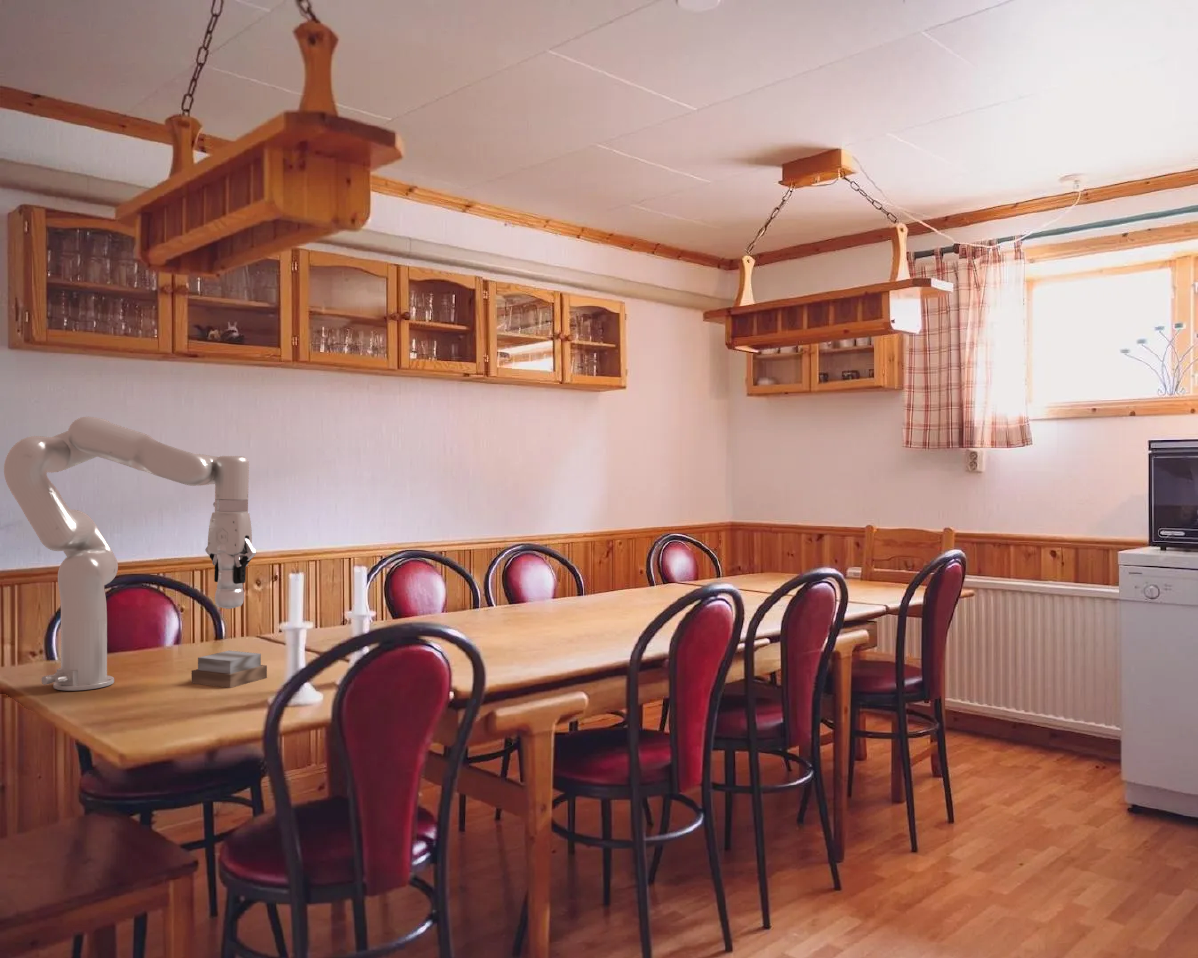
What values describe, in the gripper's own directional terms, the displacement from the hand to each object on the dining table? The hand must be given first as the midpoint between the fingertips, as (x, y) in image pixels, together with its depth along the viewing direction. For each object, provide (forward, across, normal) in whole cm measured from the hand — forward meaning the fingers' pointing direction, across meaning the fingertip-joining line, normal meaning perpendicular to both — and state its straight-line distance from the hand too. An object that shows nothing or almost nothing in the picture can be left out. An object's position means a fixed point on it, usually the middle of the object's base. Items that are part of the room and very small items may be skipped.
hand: (229, 581), depth 231 cm
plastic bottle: (+7, 0, 0) cm, 7 cm away
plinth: (+24, 0, 0) cm, 24 cm away
